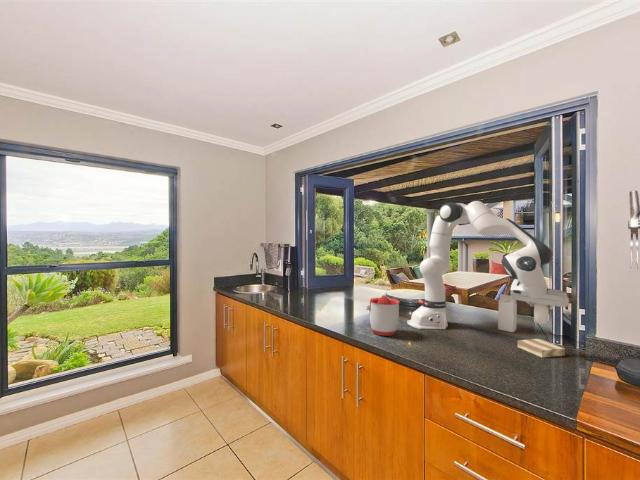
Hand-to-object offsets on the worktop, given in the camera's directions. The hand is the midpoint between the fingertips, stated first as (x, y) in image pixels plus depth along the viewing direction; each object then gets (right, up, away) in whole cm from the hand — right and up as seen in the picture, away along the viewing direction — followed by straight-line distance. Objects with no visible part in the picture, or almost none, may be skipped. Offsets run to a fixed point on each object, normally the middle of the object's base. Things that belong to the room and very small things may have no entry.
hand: (541, 306), depth 130 cm
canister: (-1, -7, 0) cm, 7 cm away
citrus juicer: (-67, -19, +23) cm, 73 cm away
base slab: (-1, -20, 0) cm, 20 cm away
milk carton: (+3, -20, +29) cm, 35 cm away
